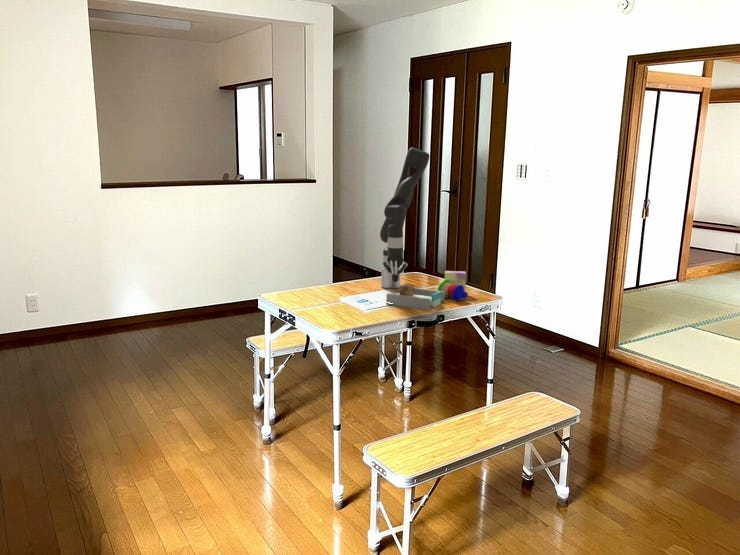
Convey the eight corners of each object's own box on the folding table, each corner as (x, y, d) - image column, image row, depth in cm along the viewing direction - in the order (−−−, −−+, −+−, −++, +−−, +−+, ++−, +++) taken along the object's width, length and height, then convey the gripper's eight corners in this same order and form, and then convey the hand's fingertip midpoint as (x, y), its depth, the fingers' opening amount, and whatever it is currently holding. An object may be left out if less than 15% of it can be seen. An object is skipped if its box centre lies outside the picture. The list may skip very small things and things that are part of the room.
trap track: (386, 304, 295) (386, 291, 293) (403, 296, 310) (404, 284, 309) (429, 310, 284) (429, 297, 283) (444, 301, 300) (445, 289, 298)
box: (464, 293, 317) (465, 271, 314) (465, 296, 311) (466, 273, 309) (444, 293, 318) (444, 270, 315) (444, 295, 312) (444, 272, 310)
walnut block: (399, 295, 298) (399, 285, 297) (404, 293, 302) (404, 283, 301) (408, 297, 296) (409, 286, 295) (413, 295, 300) (413, 285, 299)
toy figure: (466, 305, 303) (442, 294, 313) (471, 286, 301) (447, 277, 311) (455, 306, 297) (431, 296, 306) (460, 287, 294) (436, 277, 304)
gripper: (379, 246, 298) (379, 282, 301) (404, 248, 292) (404, 284, 295) (386, 244, 304) (386, 279, 307) (411, 246, 298) (411, 281, 301)
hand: (395, 281), depth 301 cm, fingers closed
